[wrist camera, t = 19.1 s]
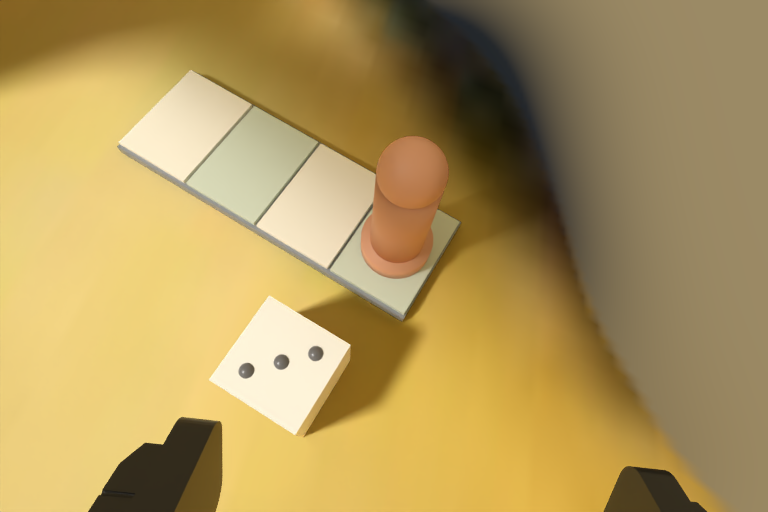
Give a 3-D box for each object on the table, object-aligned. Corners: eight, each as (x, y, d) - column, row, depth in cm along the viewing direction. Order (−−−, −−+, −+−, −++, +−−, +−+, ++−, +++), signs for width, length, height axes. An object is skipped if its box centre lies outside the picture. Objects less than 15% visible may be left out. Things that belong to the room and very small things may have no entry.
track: (121, 152, 30) (114, 143, 29) (195, 76, 33) (191, 67, 32) (402, 321, 28) (403, 317, 27) (459, 226, 30) (462, 219, 29)
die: (231, 390, 26) (207, 379, 21) (280, 318, 27) (268, 294, 23) (303, 437, 25) (294, 435, 21) (349, 360, 27) (350, 344, 22)
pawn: (347, 256, 28) (345, 167, 19) (382, 202, 29) (397, 94, 20) (408, 291, 27) (438, 218, 18) (442, 234, 29) (484, 139, 19)
